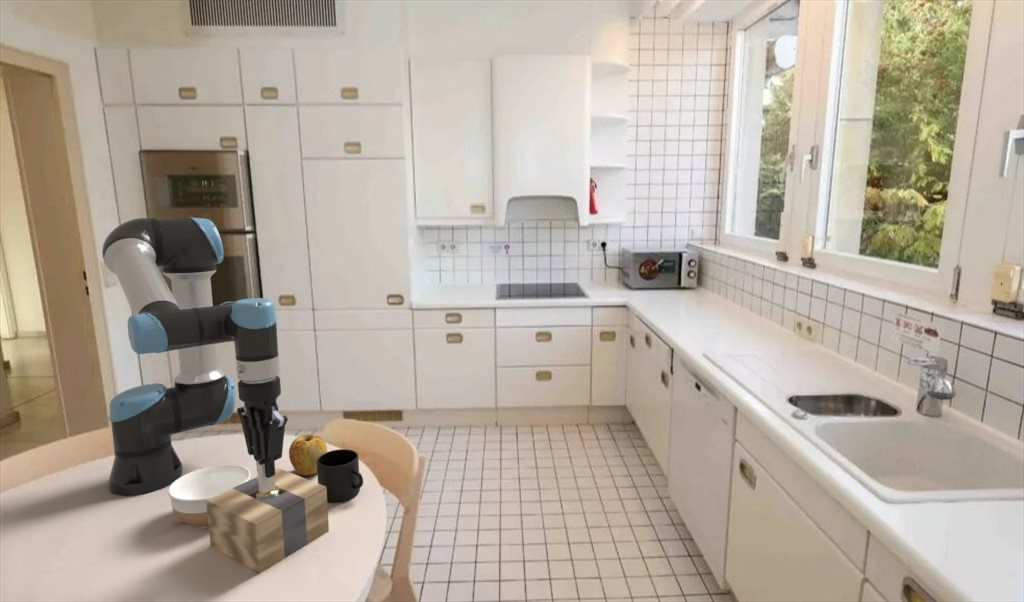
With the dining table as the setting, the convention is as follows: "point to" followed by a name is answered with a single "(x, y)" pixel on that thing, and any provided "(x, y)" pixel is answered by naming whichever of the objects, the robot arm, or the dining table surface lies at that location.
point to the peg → (267, 495)
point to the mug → (339, 474)
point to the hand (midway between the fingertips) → (267, 489)
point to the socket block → (267, 520)
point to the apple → (306, 453)
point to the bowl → (203, 491)
